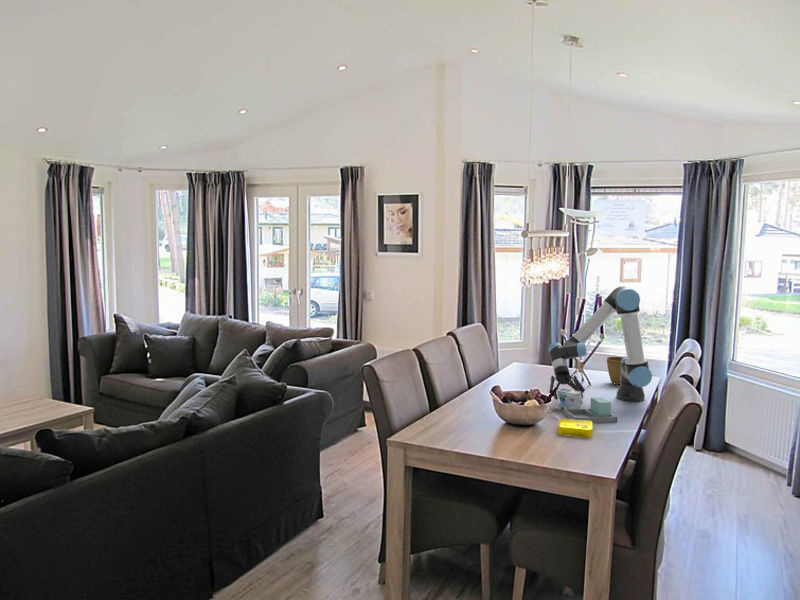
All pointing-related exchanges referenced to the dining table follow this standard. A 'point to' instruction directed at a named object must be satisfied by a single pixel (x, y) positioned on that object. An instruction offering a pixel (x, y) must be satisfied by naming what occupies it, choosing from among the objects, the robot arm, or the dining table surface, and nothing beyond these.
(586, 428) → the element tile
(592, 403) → the teal block
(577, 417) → the tray
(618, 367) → the plant pot
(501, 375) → the dining table surface
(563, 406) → the light bulb box
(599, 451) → the dining table surface
